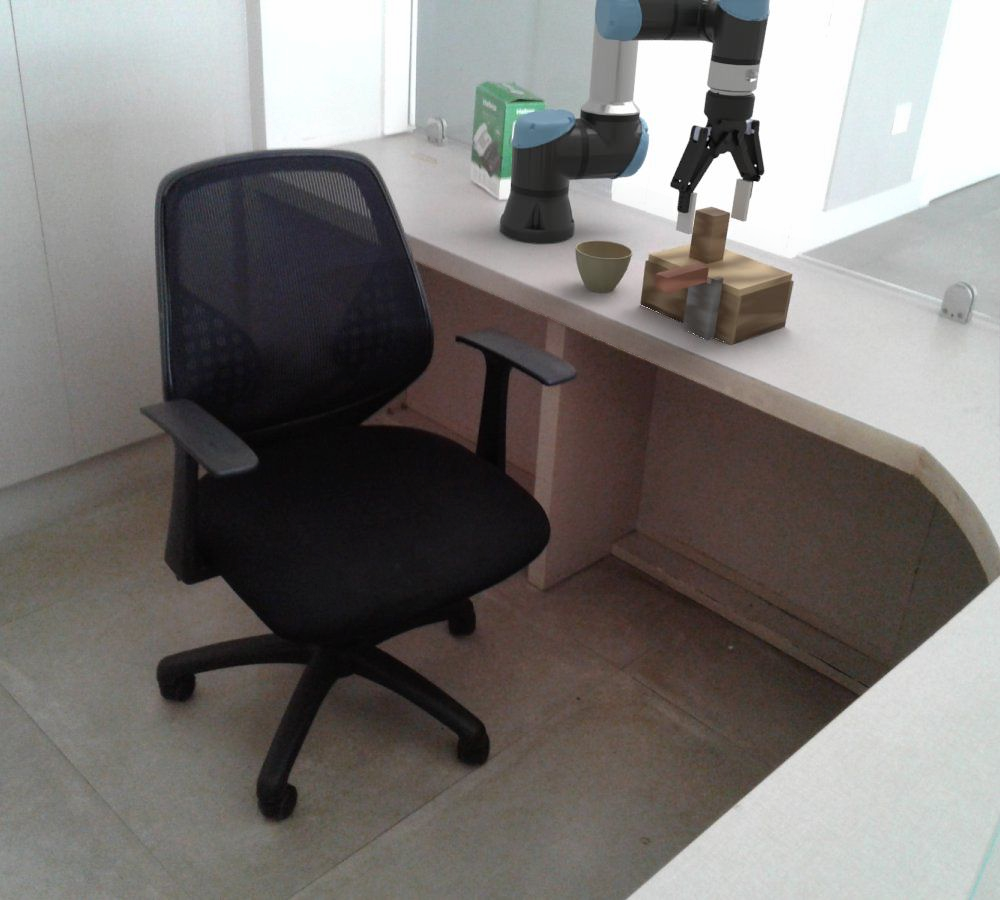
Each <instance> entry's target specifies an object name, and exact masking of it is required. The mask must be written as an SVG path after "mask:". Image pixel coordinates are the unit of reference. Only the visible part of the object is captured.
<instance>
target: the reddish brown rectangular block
mask: <svg viewBox="0 0 1000 900" xmlns="http://www.w3.org/2000/svg"><path fill="white" fill-rule="evenodd" d="M708 270H709V266H706V265H703V264H701V263H698V262H697V263H694V264H690V265H686V266H682V267H679V268H675V269H671V270H667V271H663V272H660V273H656V278H655V286H654V289H655V290H658V291H660V292H662V293H665V294H666V293H669V292H673V291H676V290H680V289H683V288H687V287H690V286H694V285H698V284H701V283H705V282H707V277H708Z"/></svg>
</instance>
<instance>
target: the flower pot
mask: <svg viewBox="0 0 1000 900" xmlns="http://www.w3.org/2000/svg"><path fill="white" fill-rule="evenodd" d="M574 249H575V250H574V253H575V254H574V255H575V261H576V266H577V269H578V272H579V276H580V278H581V281H582V282H583V284H584V287H585V288H586V289H587V290H589V291H591V292H595V293H610V292H612V291H614V290H615V289H616V287H617V286H618V285H619V284H620V282H621V280H622V279H623V277H624V276H625V274H626V271H627V270H628V268H629V265H630V262H631V259H632V256H633V250H632V249H631V248H630V247H629V246H627V245H624V244H623V243H619V242H614V241H609V240H594V239H593V240H586V241H581V242H579V243H577V244H576V245H575V247H574ZM609 291H610V292H609Z"/></svg>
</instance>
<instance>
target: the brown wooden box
mask: <svg viewBox="0 0 1000 900" xmlns="http://www.w3.org/2000/svg"><path fill="white" fill-rule="evenodd" d="M667 270H670V269H667V268H665V267H662V266H660V265H657V264H655V263H652V262H650V261H648V259H646V260H645V264H644V270H643V279H642V289H641V296H640V297H641V298H640V304H641V305H643V306H645V307H648V308H650V309H652V310H654V311H657V312H659V313H661V314H663V315H665V316H664V317H666V316H667V317H666V318H668V317H669V318H668V319H670V318H672V319H674V320H673V321H675V320H676V321H675V322H677V321H678V322H677V323H679V322H681V323H680V324H682V323H683V324H682V329H684V330H683V331H685V330H686V331H685V332H687V331H689V332H690V334H691V333H694V334H695V335H694V334H693V335H694V336H696V335H698V336H699V337H698V336H697V337H698V338H700V337H702V338H701V339H703V338H704V339H703V340H705V339H706V340H705V341H709V340H712V339H715V338H717V339H716V340H718V339H719V340H718V341H720V340H721V341H720V342H722V341H724V342H726V343H725V344H727V345H730V346H732V345H735V344H737V343H741V342H743V341H746V340H749V339H753V338H756V337H758V336H761V335H764V334H767V333H769V332H770V333H771V332H773V331H776V330H779V329H782V328H785V327H786V323H787V318H788V314H789V309H790V303H791V298H792V293H793V288H794V282H795V281H794V280H792V279H791V281H789V282H786V283H782V284H779V285H776V286H772V287H769V288H766V289H763V290H759V291H756V292H753V293H749V294H746V295H743V296H739V297H737V296H735V295H732V294H730V293H727V292H725V291H722V285H723V279H724V278H723V277H720V276H718V277H714V278H712V279H709V278H707V282H705V283H701V284H698V285H694V286H690V287H687V288H683V289H680V290H676V291H673V292H669V293H666V294H665V293H662V292H660V291H658V290H655V289H654V286H655V278H656V273H660V272H663V271H667ZM641 305H640V306H641ZM643 306H642V307H643ZM645 307H644V308H645ZM648 308H647V309H648ZM650 309H649V310H650ZM652 310H651V311H652ZM654 311H653V312H654ZM657 312H656V313H657ZM659 313H658V314H659ZM661 314H660V315H661ZM663 315H662V316H663ZM672 319H671V320H672ZM689 332H688V333H689ZM713 337H714V338H713ZM711 338H712V339H711ZM708 339H709V340H708ZM724 342H723V343H724Z"/></svg>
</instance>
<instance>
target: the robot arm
mask: <svg viewBox="0 0 1000 900" xmlns="http://www.w3.org/2000/svg"><path fill="white" fill-rule="evenodd" d="M770 1H771V0H595V8H594V27H593V39H592V40H593V42H592V55H591V66H590V67H591V70H590V80H589V81H590V82H589V83H590V84H589V96H588V99H587V100H586V101H585V102H584V103H583V104H582V105H580V111H579V112H580V114H579V115H580V116H579V118H576V117H575V114H574V113H573V111H572V112H571V111H569V110H566V109H552V108H551V109H540V110H535V111H531V112H527V113H525V114H523V115H521V116H520V117H518V119H517V120H516V121H515V123H514V126H513V135H512V136H513V137H512V139H511V145H512V148H511V149H512V151H511V152H512V153H511V171H510V190H509V191H510V192H509V195H508V197H507V201H506V202H505V203H506V204H505V205H504V206H505V207H504V209H503V213H502V214H501V216H500V219H499V232H500V233H501V234H502V235H504V236H505V237H508V238H510V239H513V240H516V241H520V242H525V243H533V244H534V243H535V244H550V243H551V244H552V243H559V242H565V241H567V240H569V239H571V238H572V237H573V236H574V235H575V225H576V224H575V220H574V217H573V211H572V207H571V202H570V198H569V190H570V181H574V180H575V181H577V180H595V179H597V180H601V179H603V180H604V179H609V180H617V179H620V178H628V177H633V176H634V175H635V174H636V173H637V172H639V170H640V169H641V168H642V166H643V164H644V162H645V161H646V157H647V154H648V150H649V143H650V134H649V133H648V131H649V126H648V123H647V122H646V121H645V119H644V118H642V117H641V116H640V114H641V110H640V108H639V106H637V104H636V103H635V101H634V93H635V82H636V71H637V60H638V49H639V41H686V42H688V41H692V42H693V41H698V42H701V41H702V42H707V43H711V44H712V46H711V47H712V48H711V55H710V62H709V68H708V75H707V81H706V86H707V87H708V88H710V89H708V90H707V91H706V93H705V99H704V106H703V114H704V115H705V117H706V118H707V120H706V121H707V122H706V125H704V126H700V125H695V124H693V125H692V127H691V129H690V134H689V138H688V139H689V140H688V142H687V144H686V147H685V149H684V151H683V153H682V156H681V158H680V160H679V162H678V165H677V167H676V169H675V172H674V173H673V177H672V179H671V181H670V183H669V186H670V188H673V189H675V190H677V191H678V199H677V207H676V208H677V209H676V210H677V220H676V227H675V231H678V232H681V233H683V234H686V235H692V232H693V225H694V218H695V211H696V204H697V197H698V193H697V192H694V191H695V190H696V188H697V186H698V185H699V183H701V180H702V178H703V177H704V175H705V174H706V172H707V171H708V169H709V167H710V166H711V164H712V163H713V161H714V160H715V159H717V158H718V157H719V156H720V155H723V154H726V153H730V154H731V158H732V160H733V161H734V163H735V164H734V165H735V166H736V169H737V171H738V174H739V175H740V177H741V178H736V183H735V188H734V194H733V195H734V197H733V200H732V201H733V202H732V209H731V212H730V218H731V219H734V220H737V221H740V222H747V219H748V212H749V208H750V207H749V206H750V200H751V198H752V194H753V193H752V192H753V188H754V182H756V183H758V182H760V180H761V178H762V177H761V176H763V175H764V173H765V165H764V160H763V159H764V158H763V152H762V146H761V140H760V134H759V133H760V120H759V119H758V120H757V119H755V118H752V117H753V114H754V109H755V108H754V107H755V103H756V102H755V101H756V96H755V93H753V92H754V91H756V90H757V87H758V86H757V85H758V80H759V79H758V78H759V73H760V68H761V67H760V65H761V60H762V56H763V51H764V50H763V49H764V44H765V37H766V32H767V27H768V21H769V16H770V12H771V11H770V3H771V2H770Z"/></svg>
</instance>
